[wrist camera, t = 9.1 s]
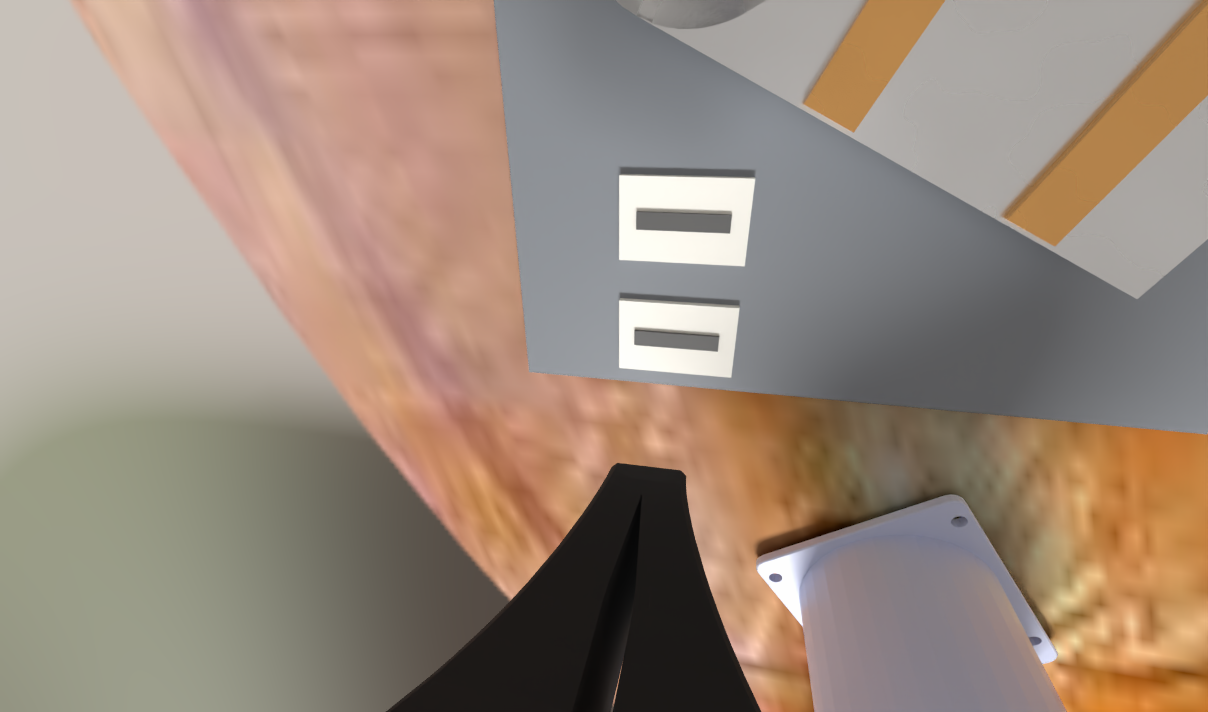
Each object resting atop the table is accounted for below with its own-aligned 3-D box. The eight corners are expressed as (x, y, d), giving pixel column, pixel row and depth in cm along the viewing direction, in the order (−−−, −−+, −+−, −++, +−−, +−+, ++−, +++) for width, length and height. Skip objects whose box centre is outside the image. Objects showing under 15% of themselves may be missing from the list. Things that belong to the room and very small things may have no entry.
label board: (1606, -261, 9) (1727, -304, 8) (1181, 413, 16) (1215, 440, 15) (493, -160, 13) (471, -181, 11) (537, 358, 19) (526, 376, 18)
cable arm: (549, -35, 12) (521, -50, 11) (652, -347, 10) (637, -432, 8) (1094, 273, 13) (1149, 306, 11) (1321, 65, 11) (1437, 66, 9)
